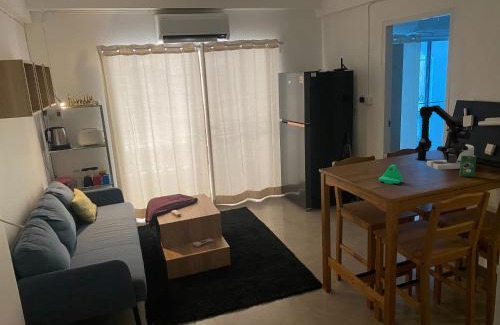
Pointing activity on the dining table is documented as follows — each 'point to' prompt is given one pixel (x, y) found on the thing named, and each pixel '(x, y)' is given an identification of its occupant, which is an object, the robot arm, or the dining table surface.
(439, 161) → the board
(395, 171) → the green peaked piece
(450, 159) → the cap
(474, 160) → the coffee box
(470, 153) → the photo printer
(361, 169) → the dining table surface
